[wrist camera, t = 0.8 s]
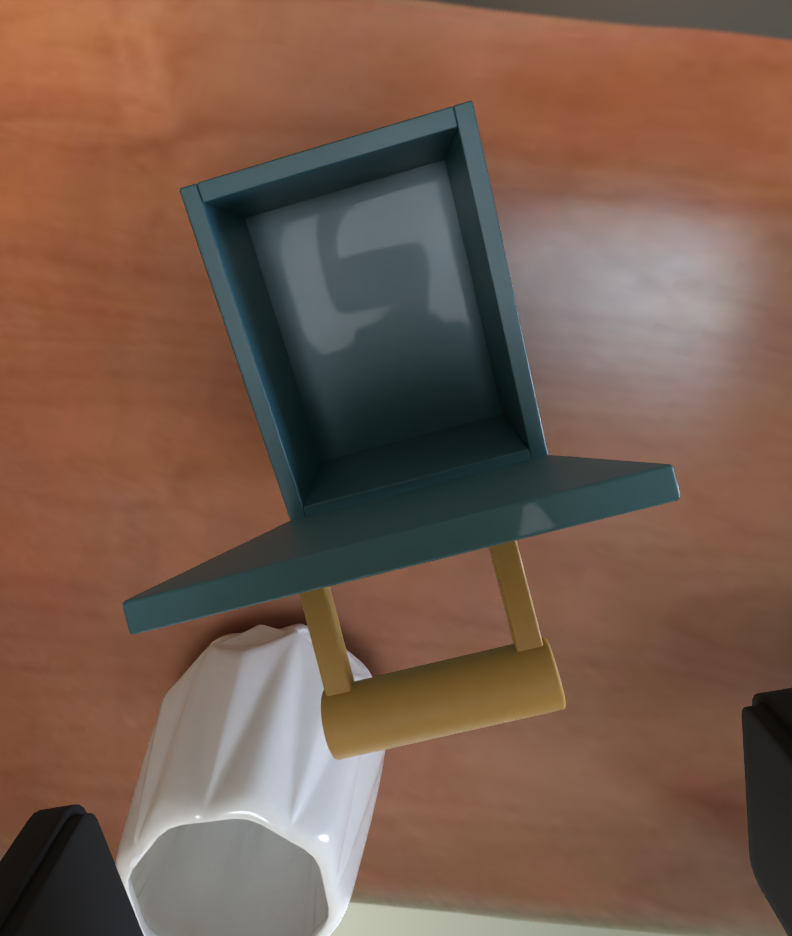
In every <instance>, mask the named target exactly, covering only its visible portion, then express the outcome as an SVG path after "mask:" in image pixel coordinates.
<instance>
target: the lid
mask: <svg viewBox="0 0 792 936" xmlns="http://www.w3.org/2000/svg"><path fill="white" fill-rule="evenodd" d="M678 499H680V492H679V488H678V484H677V480H676V476H675V472H674V468H673V466H672V465H670V464H659V463H645V462H632V461H619V460H606V459H593V458H580V457H567V456H554V455H546V456H542V457H538V458H534V459H531V460H527V461H523V462H519V463H515V464H511V465H507V466H503V467H499V468H495V469H492V470H488V471H484V472H480V473H476V474H472V475H468V476H464V477H460V478H456V479H452V480H449V481H445V482H441V483H437V484H433V485H429V486H425V487H421V488H417V489H413V490H409V491H406V492H402V493H398V494H394V495H390V496H386V497H382V498H378V499H374V500H370V501H366V502H363V503H359V504H355V505H351V506H347V507H343V508H339V509H335V510H331V511H327V512H323V513H320V514H316V515H312V516H308V517H304V518H300V519H296V520H292V521H289V522H287V523H285V524H283V525H281V526H279V527H277V528H274V529H272V530H270V531H268V532H266V533H264V534H262V535H260V536H258V537H256V538H254V539H252V540H250V541H248V542H246V543H243V544H241V545H239V546H237V547H235V548H233V549H231V550H229V551H227V552H225V553H223V554H221V555H219V556H217V557H215V558H212V559H210V560H208V561H206V562H204V563H202V564H200V565H198V566H196V567H194V568H192V569H190V570H188V571H186V572H184V573H181V574H179V575H177V576H175V577H173V578H171V579H169V580H167V581H165V582H163V583H161V584H159V585H157V586H155V587H152V588H150V589H148V590H146V591H144V592H142V593H140V594H138V595H136V596H134V597H132V598H130V599H128V600H126V601H124V602H123V609H124V613H125V617H126V621H127V624H128V628H129V632H130V633H131V634H138V633H142V632H146V631H150V630H154V629H158V628H162V627H166V626H170V625H175V624H179V623H183V622H187V621H191V620H195V619H199V618H203V617H207V616H211V615H215V614H219V613H223V612H227V611H231V610H235V609H239V608H243V607H247V606H251V605H256V604H260V603H264V602H268V601H272V600H276V599H280V598H284V597H288V596H292V595H296V594H299V595H300V599H301V603H302V607H303V610H304V614H305V618H306V622H307V626H308V629H309V633H310V637H311V641H312V645H313V649H314V652H315V656H316V660H317V664H318V668H319V671H320V675H321V679H322V683H323V687H324V691H323V693H322V697H321V720H322V726H323V732H324V736H325V740H326V743H327V746H328V748H329V750H330V753H331V754H332V756H333V757H334V758H335V759H337V760H341V759H346V758H350V757H354V756H359V755H363V754H368V753H372V752H377V751H381V750H385V749H390V748H394V747H399V746H403V745H408V744H412V743H416V742H421V741H425V740H430V739H434V738H439V737H443V736H447V735H452V734H456V733H461V732H465V731H470V730H474V729H479V728H483V727H487V726H492V725H496V724H501V723H505V722H510V721H514V720H518V719H523V718H527V717H532V716H536V715H541V714H545V713H549V712H554V711H558V710H563V709H564V708H565V704H566V702H565V696H564V691H563V687H562V683H561V679H560V676H559V672H558V669H557V665H556V662H555V659H554V656H553V653H552V650H551V647H550V645H549V643H548V641H547V639H546V638H544V637H541V633H540V629H539V625H538V622H537V618H536V614H535V610H534V606H533V602H532V598H531V594H530V591H529V587H528V583H527V579H526V575H525V571H524V567H523V563H522V560H521V556H520V552H519V548H518V544H517V540H519V539H523V538H527V537H531V536H535V535H539V534H543V533H547V532H551V531H555V530H559V529H563V528H567V527H572V526H576V525H580V524H584V523H588V522H592V521H596V520H600V519H604V518H608V517H612V516H616V515H620V514H624V513H628V512H632V511H636V510H640V509H644V508H649V507H653V506H657V505H661V504H665V503H669V502H673V501H677V500H678ZM486 547H489V551H490V554H491V558H492V562H493V566H494V570H495V574H496V578H497V582H498V585H499V589H500V593H501V597H502V601H503V605H504V609H505V612H506V616H507V620H508V624H509V628H510V632H511V636H512V640H513V643H514V644H511V645H507V646H503V647H498V648H494V649H490V650H486V651H481V652H477V653H473V654H469V655H464V656H460V657H456V658H452V659H447V660H443V661H439V662H435V663H430V664H426V665H422V666H418V667H413V668H409V669H405V670H400V671H396V672H392V673H388V674H383V675H379V676H375V677H371V678H366V679H362V680H358V681H354V677H353V673H352V670H351V666H350V662H349V658H348V654H347V651H346V647H345V643H344V639H343V635H342V631H341V628H340V624H339V620H338V616H337V612H336V609H335V605H334V601H333V597H332V593H331V589H330V586H333V585H337V584H341V583H345V582H349V581H353V580H357V579H361V578H365V577H369V576H373V575H377V574H381V573H385V572H389V571H393V570H397V569H401V568H405V567H409V566H414V565H418V564H422V563H426V562H430V561H434V560H438V559H442V558H446V557H450V556H454V555H458V554H462V553H466V552H470V551H474V550H478V549H482V548H486Z"/></svg>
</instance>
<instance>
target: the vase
mask: <svg viewBox="0 0 792 936" xmlns="http://www.w3.org/2000/svg"><path fill="white" fill-rule="evenodd" d="M346 651H347V654H348V658H349V662H350V666H351V670H352V673H353V677H354V681H358V680H362V679H366V678H371V677H372V675H371V673H370V672H369V670H368V669H367V667H366V666H365V665H364V664H363V663H362V662H361V661H360V660H359V659H358V658H356V657H355V656H354V655H353V654H351V653H350V652H349V651H348V650H346ZM323 691H324V687H323V683H322V679H321V675H320V671H319V668H318V664H317V660H316V656H315V652H314V649H313V645H312V641H311V637H310V633H309V629H308V626H306V625H304V624H295V625H291V626H287V627H284V628H281V629H276V628H273V627H269V626H266V625H256V626H255V627H253V628H252V629H249V630H247V631H245V632H243V633H231V634H227V635H224V636H221V637H219V638H218V639H216V640H214V641H213V642H211V643H210V645H209V646H208V647H207V648H206V649H205V650H204V651H203V652H202V654H201V655H200V656H199V657H198V658H197V659H196V660H195V662H194V663H193V664H192V665H191V666H190V667H189V668H188V669H187V671H186V672H185V673H184V674H183V675H182V676H181V677H180V678H179V679H178V681H177V682H176V683H175V684H174V685H173V686H172V687H171V688H170V690H169V691H168V692H167V693H166V695H165V696H164V697H163V700H162V703H161V706H160V710H159V714H158V717H157V719H156V722H155V725H154V728H153V731H152V734H151V737H150V740H149V744H148V747H147V750H146V754H145V757H144V760H143V764H142V767H141V770H140V774H139V777H138V781H137V784H136V788H135V791H134V795H133V798H132V802H131V805H130V809H129V812H128V816H127V819H126V823H125V827H124V830H123V834H122V838H121V841H120V845H119V849H118V854H117V859H116V867H117V870H118V872H119V875H120V877H121V880H122V882H123V885H124V887H125V890H126V892H127V895H128V897H129V900H130V902H131V905H132V907H133V910H134V912H135V915H136V917H137V920H138V922H139V925H140V927H141V930H142V932H143V935H144V936H329V935H330V934H331V933H332V932H333V931H334V930H335V928H336V927H337V926H338V925H339V923H340V921H341V919H342V918H343V916H344V914H345V912H346V910H347V907H348V904H349V902H350V899H351V895H352V892H353V888H354V885H355V881H356V878H357V874H358V870H359V866H360V862H361V858H362V855H363V851H364V847H365V843H366V839H367V835H368V831H369V827H370V823H371V819H372V815H373V811H374V806H375V802H376V798H377V793H378V789H379V784H380V779H381V774H382V768H383V761H384V756H385V750H381V751H377V752H372V753H368V754H363V755H359V756H354V757H350V758H346V759H341V760H337V759H335V758H334V757H333V756H332V754H331V753H330V750H329V748H328V746H327V743H326V740H325V736H324V732H323V726H322V720H321V697H322V693H323Z"/></svg>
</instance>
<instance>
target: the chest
mask: <svg viewBox="0 0 792 936" xmlns="http://www.w3.org/2000/svg"><path fill="white" fill-rule="evenodd" d="M180 193H181V196H182V199H183V202H184V205H185V208H186V211H187V214H188V217H189V220H190V223H191V226H192V229H193V232H194V235H195V238H196V241H197V244H198V247H199V250H200V253H201V256H202V259H203V262H204V265H205V268H206V271H207V274H208V276H209V279H210V282H211V285H212V288H213V291H214V294H215V297H216V300H217V303H218V306H219V309H220V312H221V315H222V318H223V321H224V324H225V327H226V330H227V333H228V336H229V339H230V342H231V345H232V348H233V351H234V354H235V357H236V360H237V363H238V366H239V369H240V372H241V375H242V378H243V381H244V384H245V386H246V389H247V392H248V395H249V398H250V401H251V404H252V407H253V410H254V413H255V416H256V419H257V422H258V425H259V428H260V431H261V434H262V437H263V440H264V443H265V446H266V449H267V452H268V455H269V458H270V461H271V464H272V467H273V470H274V473H275V476H276V479H277V482H278V485H279V488H280V491H281V494H282V496H283V499H284V502H285V505H286V508H287V511H288V514H289V517H290V520H291V521H292V520H296V519H300V518H304V517H308V516H312V515H316V514H320V513H323V512H327V511H331V510H335V509H339V508H343V507H347V506H351V505H355V504H359V503H363V502H366V501H370V500H374V499H378V498H382V497H386V496H390V495H394V494H398V493H402V492H406V491H409V490H413V489H417V488H421V487H425V486H429V485H433V484H437V483H441V482H445V481H449V480H452V479H456V478H460V477H464V476H468V475H472V474H476V473H480V472H484V471H488V470H492V469H495V468H499V467H503V466H507V465H511V464H515V463H519V462H523V461H527V460H531V459H534V458H538V457H542V456H546V455H548V452H547V447H546V442H545V438H544V433H543V428H542V424H541V419H540V414H539V410H538V405H537V400H536V396H535V391H534V386H533V382H532V377H531V372H530V368H529V363H528V358H527V354H526V349H525V344H524V340H523V335H522V330H521V325H520V321H519V316H518V311H517V307H516V302H515V297H514V293H513V288H512V283H511V279H510V274H509V269H508V265H507V260H506V255H505V251H504V246H503V241H502V237H501V232H500V227H499V223H498V218H497V213H496V209H495V204H494V199H493V194H492V190H491V185H490V180H489V176H488V171H487V166H486V162H485V157H484V152H483V148H482V143H481V138H480V134H479V129H478V124H477V120H476V115H475V110H474V106H473V102H472V101H468V102H465V103H462V104H458V105H455V106H454V107H448V108H445V109H442V110H438V111H435V112H432V113H428V114H425V115H422V116H418V117H415V118H412V119H408V120H405V121H402V122H398V123H395V124H392V125H388V126H385V127H382V128H378V129H375V130H372V131H368V132H365V133H362V134H358V135H355V136H352V137H348V138H345V139H342V140H338V141H335V142H332V143H329V144H325V145H322V146H319V147H315V148H312V149H309V150H305V151H302V152H299V153H295V154H292V155H289V156H285V157H282V158H279V159H275V160H272V161H269V162H265V163H262V164H259V165H255V166H252V167H249V168H245V169H242V170H239V171H235V172H232V173H229V174H225V175H222V176H219V177H215V178H212V179H209V180H205V181H202V182H199V183H197V184H192V185H189V186H186V187H182V188H180Z"/></svg>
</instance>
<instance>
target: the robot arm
mask: <svg viewBox="0 0 792 936" xmlns="http://www.w3.org/2000/svg"><path fill="white" fill-rule="evenodd" d="M742 729H743V747H744V764H745V782H746V800H747V817H748V835H749V853H750V861H751V865H752V869H753V872H754V875H755V878H756V880H757V882H758V884H759V886H760V888H761V890H762V892H763V894H764V895H765V897H766V899H767V900H768V902H769V904H770V905H771V907H772V909H773V911H774V912H775V914H776V916H777V917H778V919H779V921H780V922H781V924H782V926H783V928H784V929H785V931H786V933H787V934H788V936H792V688H788V689H782V690H776V691H770V692H764V693H758V694H756V695H754V697H753V700H752V706H749V707H745V708H743V710H742ZM0 936H144V935H143V932H142V930H141V927H140V925H139V922H138V920H137V917H136V915H135V912H134V910H133V907H132V905H131V902H130V900H129V897H128V895H127V892H126V890H125V887H124V885H123V882H122V880H121V877H120V875H119V872H118V870H117V867H116V865H115V862H114V860H113V857H112V855H111V852H110V850H109V847H108V845H107V842H106V840H105V837H104V835H103V832H102V830H101V828H100V825H99V823H98V820H97V818H96V817H95V815H93V814H92V813H87V812H86V811H85V809H84V808H83V807H82V806H80V805H69V806H62V807H56V808H50V809H44V810H39V811H37V812H35V813H34V814H33V815H32V816H31V817H30V818H29V820H28V821H27V823H26V824H25V826H24V827H23V829H22V830H21V832H20V833H19V835H18V836H17V837H16V839H15V840H14V842H13V843H12V845H11V846H10V848H9V849H8V851H7V852H6V854H5V855H4V857H3V858H2V860H1V861H0Z"/></svg>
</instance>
